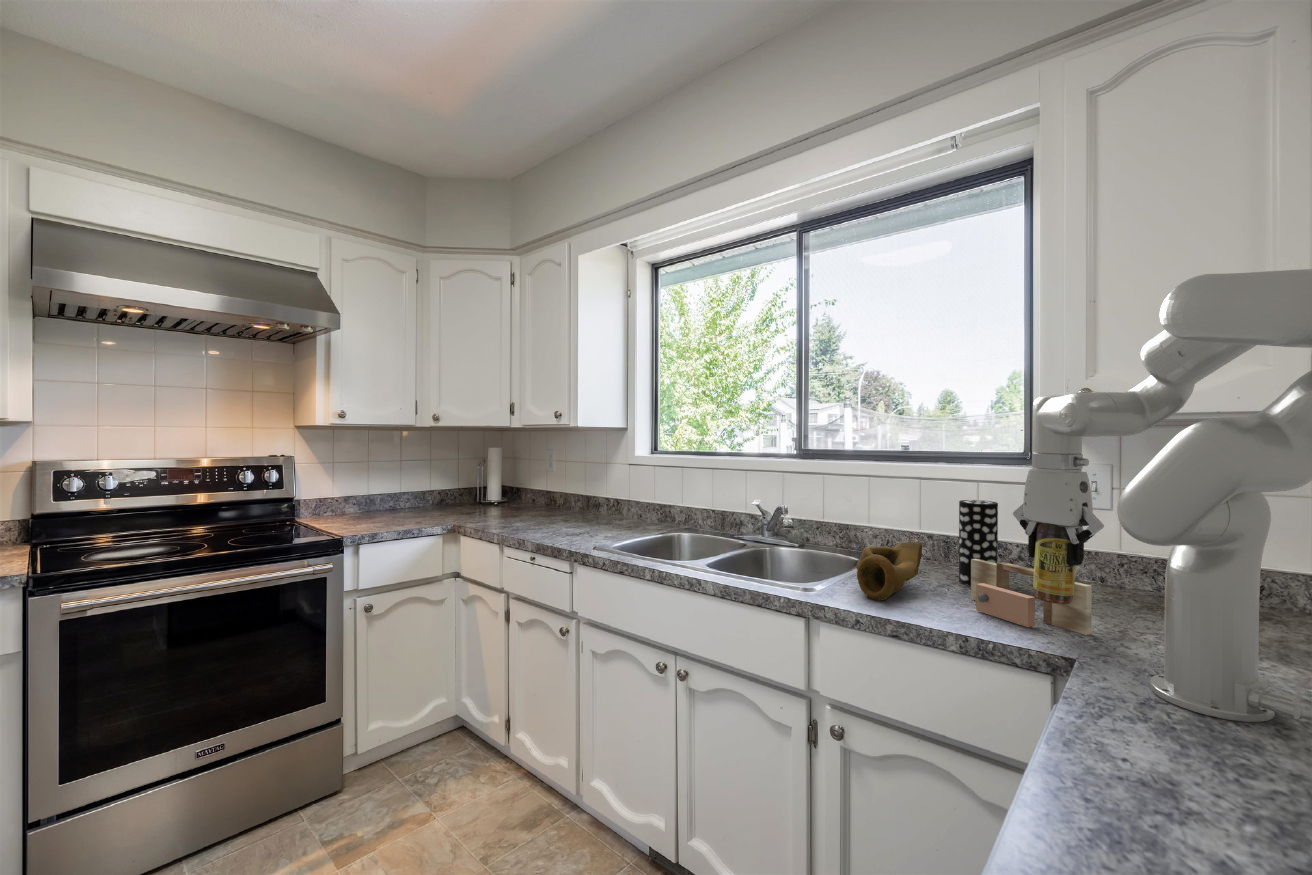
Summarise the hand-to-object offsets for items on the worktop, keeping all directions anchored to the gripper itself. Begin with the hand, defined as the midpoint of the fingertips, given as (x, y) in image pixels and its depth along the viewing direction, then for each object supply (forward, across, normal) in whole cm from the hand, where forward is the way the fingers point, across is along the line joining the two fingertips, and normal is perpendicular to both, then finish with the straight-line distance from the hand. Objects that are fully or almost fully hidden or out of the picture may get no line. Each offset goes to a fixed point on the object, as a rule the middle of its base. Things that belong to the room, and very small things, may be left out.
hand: (1054, 559), depth 106 cm
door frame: (+14, +10, -6) cm, 18 cm away
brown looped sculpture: (+15, +36, +4) cm, 39 cm away
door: (+14, +10, 0) cm, 17 cm away
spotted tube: (+15, +31, -19) cm, 39 cm away
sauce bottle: (+8, 0, 0) cm, 8 cm away
